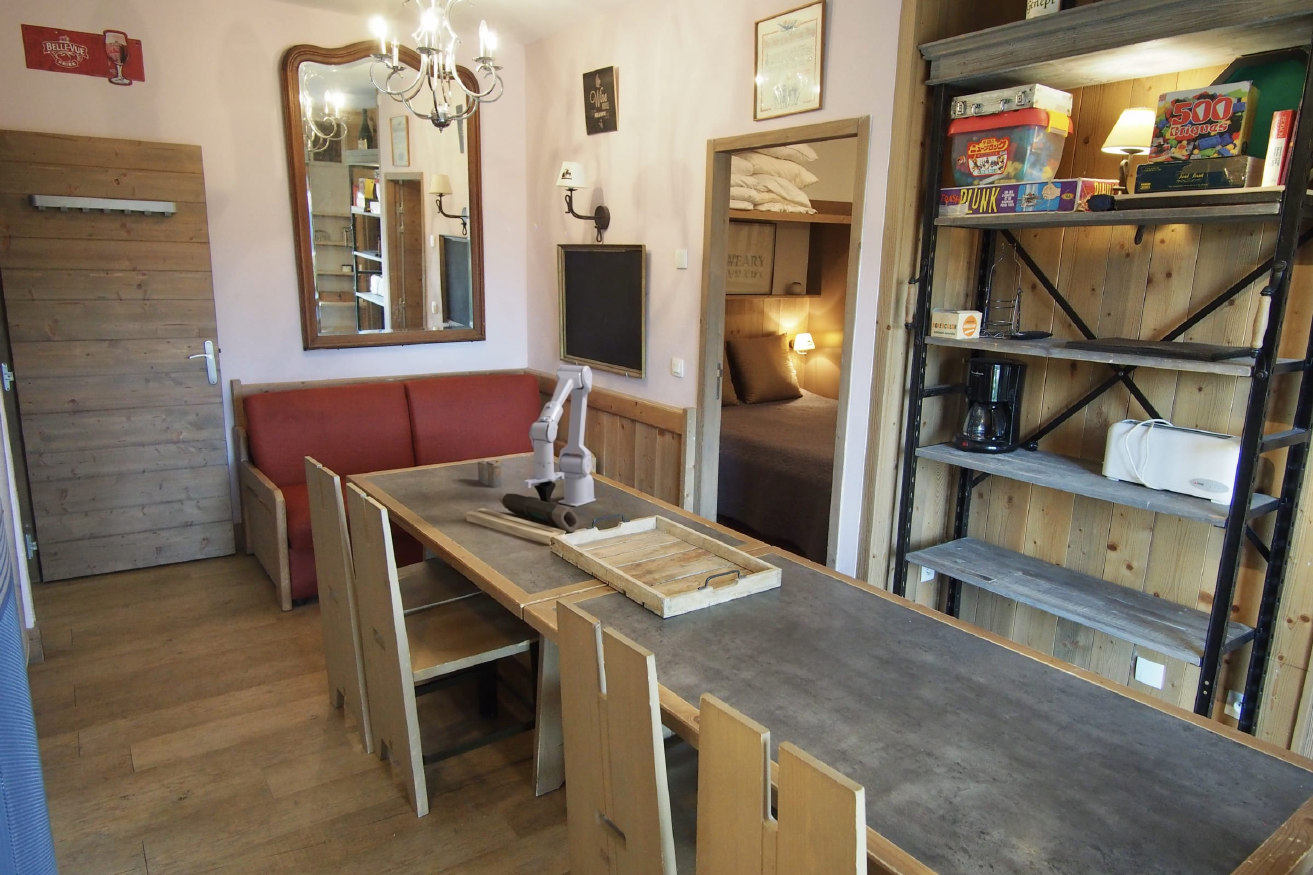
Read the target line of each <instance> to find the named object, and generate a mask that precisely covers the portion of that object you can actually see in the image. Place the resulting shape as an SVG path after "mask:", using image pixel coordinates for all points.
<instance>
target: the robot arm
mask: <svg viewBox="0 0 1313 875" xmlns="http://www.w3.org/2000/svg"><path fill="white" fill-rule="evenodd" d="M555 378H556V383H557V384H556V386H555V389H554V390H553V391H554V392H553V394H552V397H551V400H550V401H548V402H545V404H544V406H543V409H542V410H541V412H540V415H539V416H538V419H537V421H535V422H533V423H532V424H531V426H530V427H529V432H528V435H529V438H530V441H531V446H532V448H533V463H534V464H533V466H534V476H532V477H530V478H528V479H526V480H523V488H526V489H531V488H532V487H534V489H535V490H536V492H537V493H538V496H539V500H540V501H544V502H547V503H549V502H550V501H551V498H552V495H553V492H554V490H555V488H556V486H557V485H556V484H557V483H556V482H554V481H558V480H563V494H564V495H563V496H564V497H563V499H562V500H558V503H560V504H563V505H568V506H571V507H579V506H582V505H585V504H589V503H593V502H595V501H596V500H597V499H596V498H595V486H594V478H593V476H592V475H591V474H590V473H591V471H592V467H593V462H592V452H591V451H590V450H589V449H588V448H587V447H586V446H585V445H584V443H585V429H586V419H587V418H586V416H587V407H588V406H587V404H588V394H589V393H591V392H592V388H593V387H592V386H593V372H592V369H591V368H590V366H589V365H569V364H567V365H565V364H560V365H559V366H558V368H557V371H556V376H555ZM569 395H571V396H570V398H571V400H570V410H569V411H570V412H569V422H568V424H569V425H568V434H567V445H566V446H564V447H562V448H561V449H560V451H559V457H558V460H557V463H556V464H557V470H558V471H556V472H555V466H554V465H555V463H554V462H555V461H554V458H555V456H554V442H555V440H556V438H557V436H558V435H557V434H558V429H559V425H558V423H559V421H560V419H561V417H562V415H563V413H564V408H563V407H562V406H563V404H564V403H565V401H566V400H567V398H568V397H569ZM574 454H575V455H574Z"/></svg>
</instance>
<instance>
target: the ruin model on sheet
mask: <svg viewBox="0 0 1313 875" xmlns="http://www.w3.org/2000/svg"><path fill="white" fill-rule="evenodd" d="M501 461H502V460H501V459H500V460H499V459H496V460H495V463H493V462H489V461H485V460H480V461H477V470H478V471H477V474H478V482H479V483H480V484H484V485H486V486H489V487H491V488H495V489H496V488H497V489H498V488H500V487H502V469H501V468H502V467H501V465H499V464H500V463H501ZM485 462H486V463H485Z"/></svg>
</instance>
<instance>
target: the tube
mask: <svg viewBox="0 0 1313 875" xmlns="http://www.w3.org/2000/svg"><path fill="white" fill-rule="evenodd" d="M499 502H500V503H501V504H502V506H503V507H504V508H505V509H507V510H508V511H509V512H510V513H513V514H514V515H515V516H516V515H517V516H519V517H523V518H526V519H529V521H531V522H535V523H538V524H542V525H545V526H549V527H553V528H556V529H560V530H563V531H566V532H569V533H575V532H576V530H577V529H578V528H579V526H580V519H579V516H577V514H576V513H575V511H574V510H573V509H572V507H568V506H565V505H561V504H558V503H557V502H552V501H551V502H549V503H547V502H544V501H541V500H540V498H538V497H534V496H525V495H521V494H518V493H502V494H501V496H500V497H499Z"/></svg>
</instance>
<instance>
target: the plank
mask: <svg viewBox="0 0 1313 875" xmlns="http://www.w3.org/2000/svg"><path fill="white" fill-rule="evenodd" d="M465 513H466V514H465V515H466V522H470V523H474V524H477V525H481V526H484V527H488V528H491V529H494V530H497V531H501V532H505V533H508V534H511V535H513V536H514V535H515V536H517V537H521V538H523V539H528V540H530V541H534V542H537V543H541V544H544V545H548V546H552V545H551V542H550V538H551V537H553V536H557V535H560V534H565V533H566V534H567V531H564V530H561V529H557V528H553V527H551V526H550V525H547V526H545V525H542V524H539V523H536V522H533V521H531V520H526V519H523V518H519V517H517V516H516V517H515V516H512V515H508V514H505V513H502V512H498V511H494V510H490V509H487V508H483V507H481V508H477V509H473V510H470V511H467V512H465Z"/></svg>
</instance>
